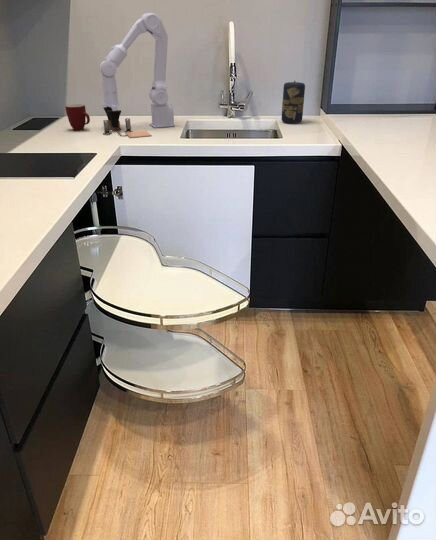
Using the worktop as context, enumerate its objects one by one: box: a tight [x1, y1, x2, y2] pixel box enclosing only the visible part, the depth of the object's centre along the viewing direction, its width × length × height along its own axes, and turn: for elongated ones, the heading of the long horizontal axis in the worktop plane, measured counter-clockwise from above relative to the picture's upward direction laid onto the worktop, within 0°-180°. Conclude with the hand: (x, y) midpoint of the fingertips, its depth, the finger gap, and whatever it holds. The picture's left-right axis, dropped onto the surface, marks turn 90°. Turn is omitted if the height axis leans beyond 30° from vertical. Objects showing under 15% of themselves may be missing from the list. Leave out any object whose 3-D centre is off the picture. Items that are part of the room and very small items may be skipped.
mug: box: [64, 103, 91, 132], centre depth 195 cm, size 10×8×10 cm
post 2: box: [124, 117, 134, 132], centre depth 192 cm, size 4×4×6 cm
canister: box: [281, 80, 306, 124], centre depth 207 cm, size 10×10×18 cm
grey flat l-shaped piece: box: [114, 130, 128, 137], centre depth 191 cm, size 4×12×1 cm, turn 22°
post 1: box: [102, 119, 113, 136], centre depth 189 cm, size 4×4×6 cm
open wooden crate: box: [107, 119, 121, 131], centre depth 198 cm, size 4×4×4 cm
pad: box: [124, 130, 152, 139], centre depth 189 cm, size 9×9×1 cm
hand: (113, 125), depth 198 cm, fingers open, 7 cm apart
